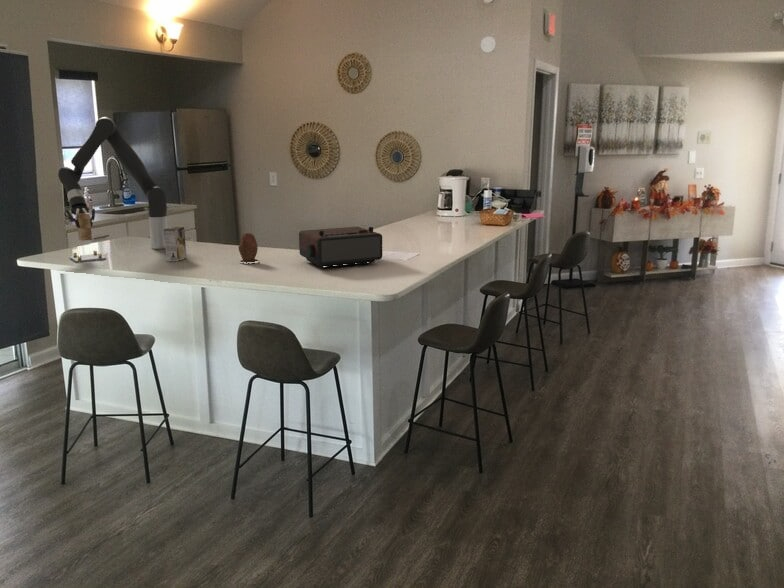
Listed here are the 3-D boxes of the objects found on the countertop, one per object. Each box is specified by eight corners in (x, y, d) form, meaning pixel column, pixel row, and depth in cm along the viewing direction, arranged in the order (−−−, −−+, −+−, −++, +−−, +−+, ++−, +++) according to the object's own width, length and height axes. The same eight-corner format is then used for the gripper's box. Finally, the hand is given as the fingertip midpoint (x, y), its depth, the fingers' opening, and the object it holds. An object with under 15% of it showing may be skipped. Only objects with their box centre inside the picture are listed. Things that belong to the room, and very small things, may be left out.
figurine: (239, 262, 336) (239, 231, 334) (260, 262, 337) (259, 232, 335) (237, 264, 327) (236, 233, 325) (258, 264, 328) (257, 233, 326)
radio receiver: (314, 272, 310) (313, 233, 306) (294, 262, 334) (293, 225, 329) (382, 265, 326) (382, 228, 321) (359, 256, 349) (359, 221, 345)
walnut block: (89, 238, 342) (87, 212, 339) (92, 239, 339) (89, 213, 335) (79, 239, 340) (76, 213, 336) (81, 240, 336) (78, 214, 333)
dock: (99, 255, 351) (98, 249, 350) (106, 259, 340) (105, 253, 339) (69, 258, 343) (69, 252, 342) (76, 262, 332) (75, 256, 331)
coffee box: (175, 258, 344) (172, 226, 340) (187, 258, 343) (184, 226, 339) (166, 261, 335) (163, 229, 331) (177, 262, 334) (175, 229, 330)
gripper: (62, 196, 336) (70, 223, 329) (92, 194, 344) (101, 221, 338) (60, 205, 341) (68, 232, 335) (91, 204, 349) (99, 230, 343)
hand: (85, 226), depth 336 cm, fingers closed on walnut block, 5 cm apart
